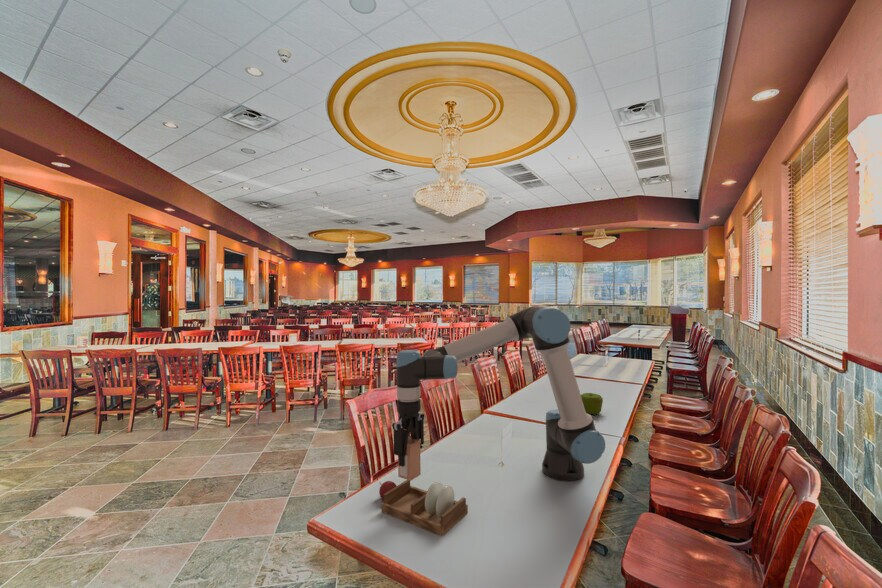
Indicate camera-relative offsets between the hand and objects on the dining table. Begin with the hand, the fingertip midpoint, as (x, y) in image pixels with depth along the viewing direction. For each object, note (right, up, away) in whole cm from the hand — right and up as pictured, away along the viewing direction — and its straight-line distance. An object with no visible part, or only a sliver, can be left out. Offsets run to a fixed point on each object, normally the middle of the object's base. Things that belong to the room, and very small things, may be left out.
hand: (409, 471), depth 123 cm
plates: (+10, -10, -7) cm, 15 cm away
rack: (+5, -11, -3) cm, 13 cm away
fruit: (-8, -12, +7) cm, 16 cm away
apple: (+95, -11, +94) cm, 134 cm away
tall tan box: (0, -1, 0) cm, 1 cm away
